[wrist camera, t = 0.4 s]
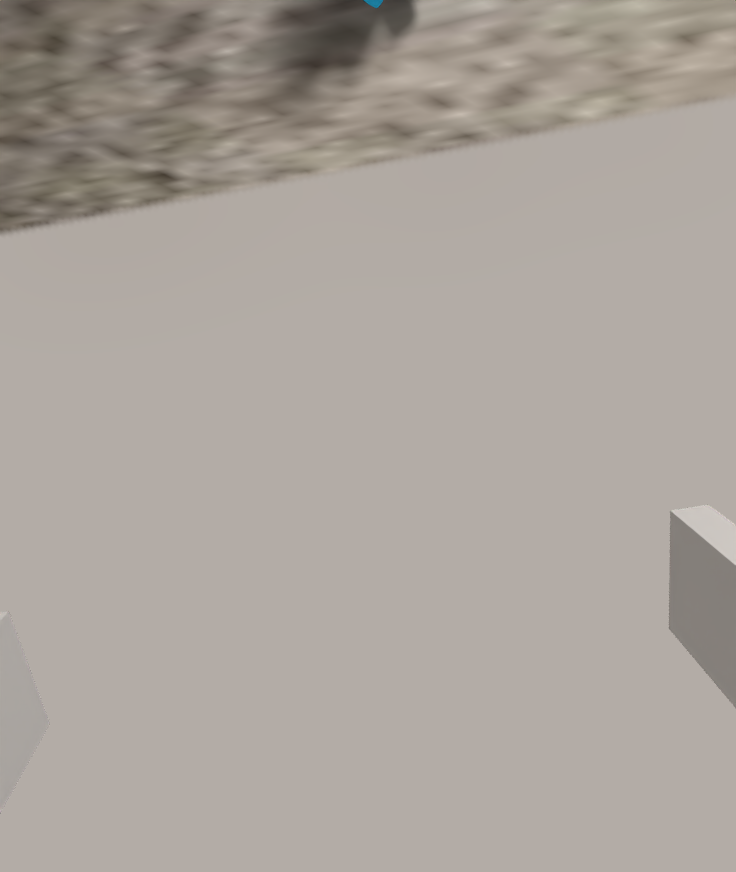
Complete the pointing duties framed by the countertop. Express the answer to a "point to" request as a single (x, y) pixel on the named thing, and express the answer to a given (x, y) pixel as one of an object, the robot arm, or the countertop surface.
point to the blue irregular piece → (374, 2)
